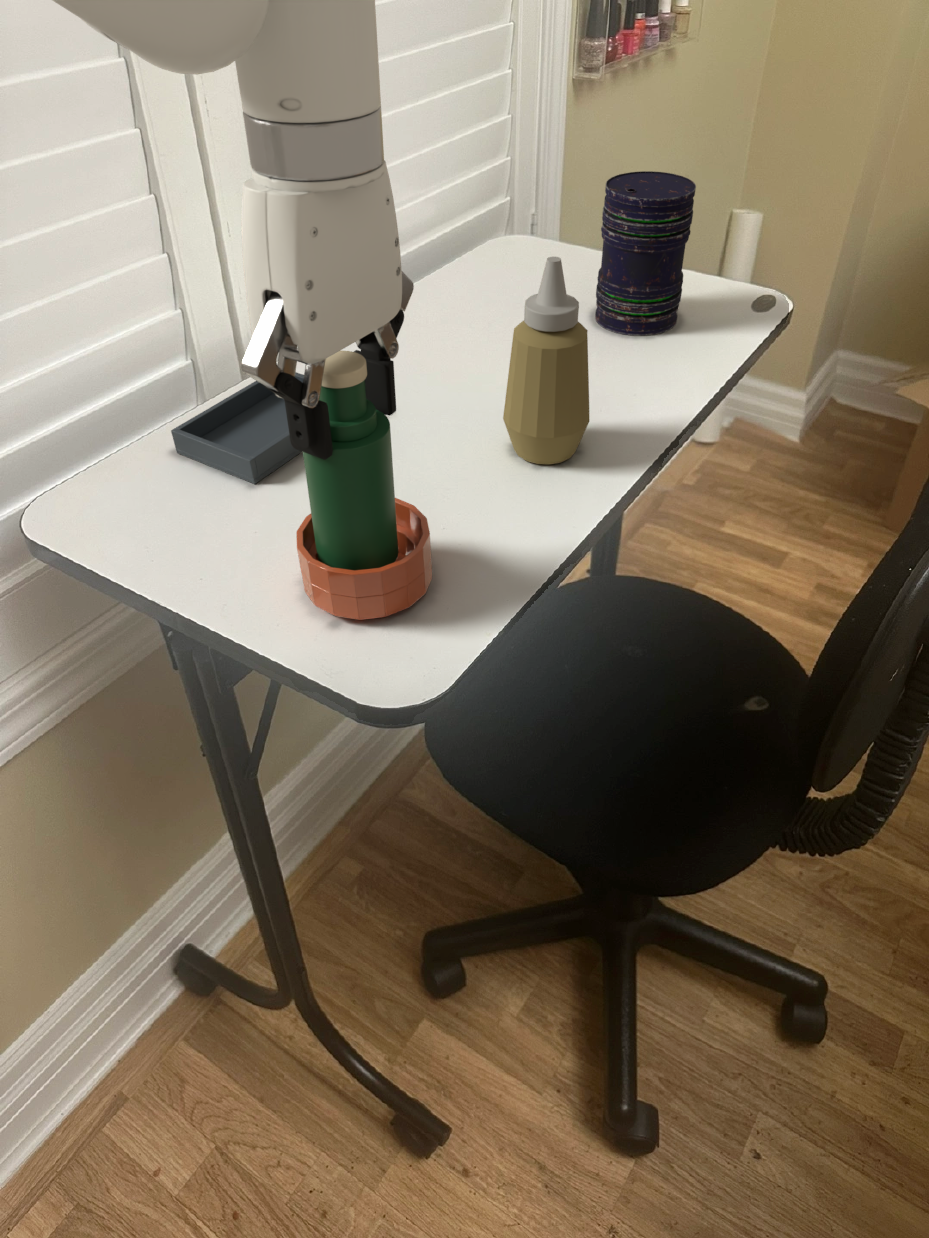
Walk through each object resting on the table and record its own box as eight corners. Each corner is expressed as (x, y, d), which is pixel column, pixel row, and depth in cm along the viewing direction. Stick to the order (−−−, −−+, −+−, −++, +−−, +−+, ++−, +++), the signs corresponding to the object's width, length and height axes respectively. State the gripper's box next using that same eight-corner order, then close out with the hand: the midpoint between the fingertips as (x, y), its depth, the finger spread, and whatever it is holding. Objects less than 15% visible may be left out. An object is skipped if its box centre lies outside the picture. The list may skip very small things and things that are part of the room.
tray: (254, 484, 83) (250, 460, 81) (176, 453, 87) (170, 430, 85) (358, 413, 92) (355, 391, 90) (283, 388, 96) (279, 366, 95)
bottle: (318, 582, 67) (290, 387, 56) (316, 533, 71) (290, 345, 61) (402, 574, 68) (389, 380, 57) (394, 526, 72) (381, 338, 62)
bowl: (306, 632, 68) (297, 580, 64) (304, 551, 75) (295, 501, 72) (439, 617, 69) (436, 565, 65) (423, 539, 76) (420, 489, 73)
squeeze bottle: (492, 465, 84) (493, 273, 72) (514, 423, 90) (518, 238, 78) (577, 478, 82) (593, 282, 70) (594, 434, 88) (611, 246, 76)
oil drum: (637, 294, 113) (651, 165, 103) (695, 321, 107) (716, 186, 97) (576, 315, 109) (585, 183, 99) (633, 344, 103) (649, 206, 93)
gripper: (359, 105, 57) (378, 369, 69) (151, 172, 47) (215, 471, 59) (457, 121, 54) (459, 394, 66) (258, 197, 44) (303, 506, 55)
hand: (345, 428), depth 62 cm, fingers closed on bottle, 6 cm apart
